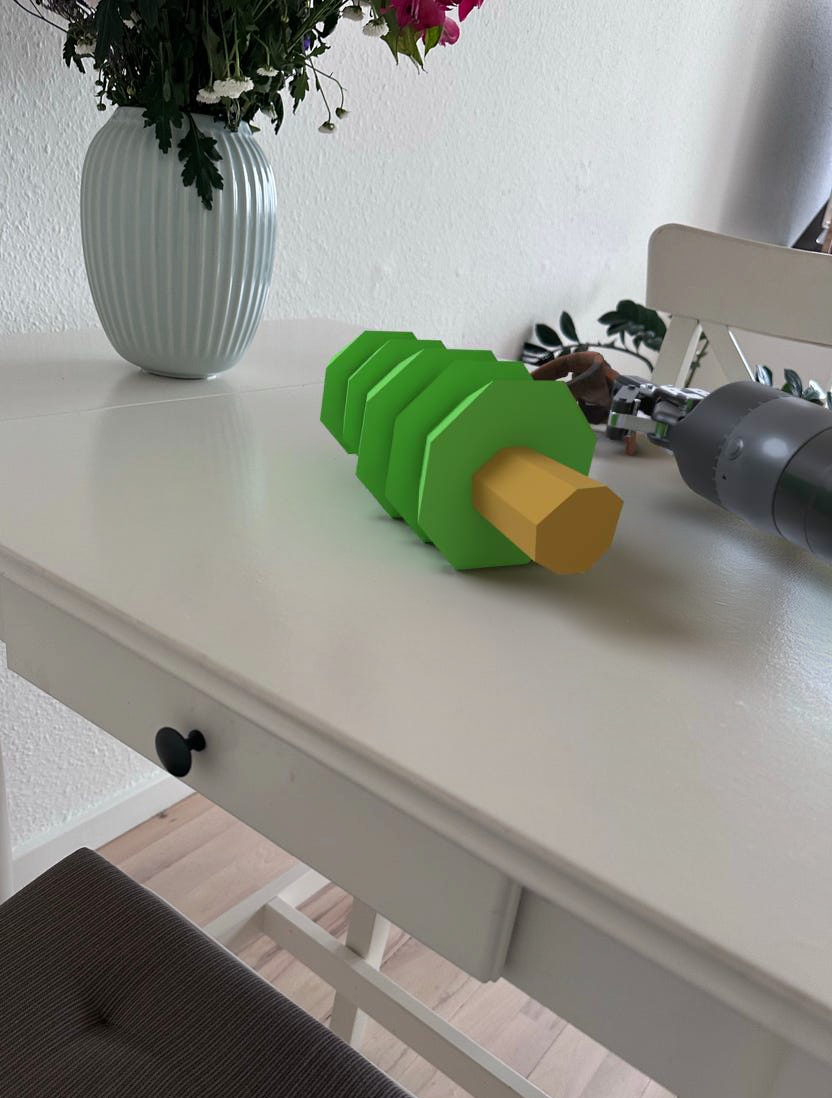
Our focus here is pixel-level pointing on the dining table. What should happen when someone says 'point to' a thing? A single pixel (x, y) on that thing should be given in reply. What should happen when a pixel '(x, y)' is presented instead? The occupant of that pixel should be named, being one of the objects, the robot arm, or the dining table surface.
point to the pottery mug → (586, 385)
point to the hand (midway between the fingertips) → (622, 389)
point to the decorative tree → (471, 452)
